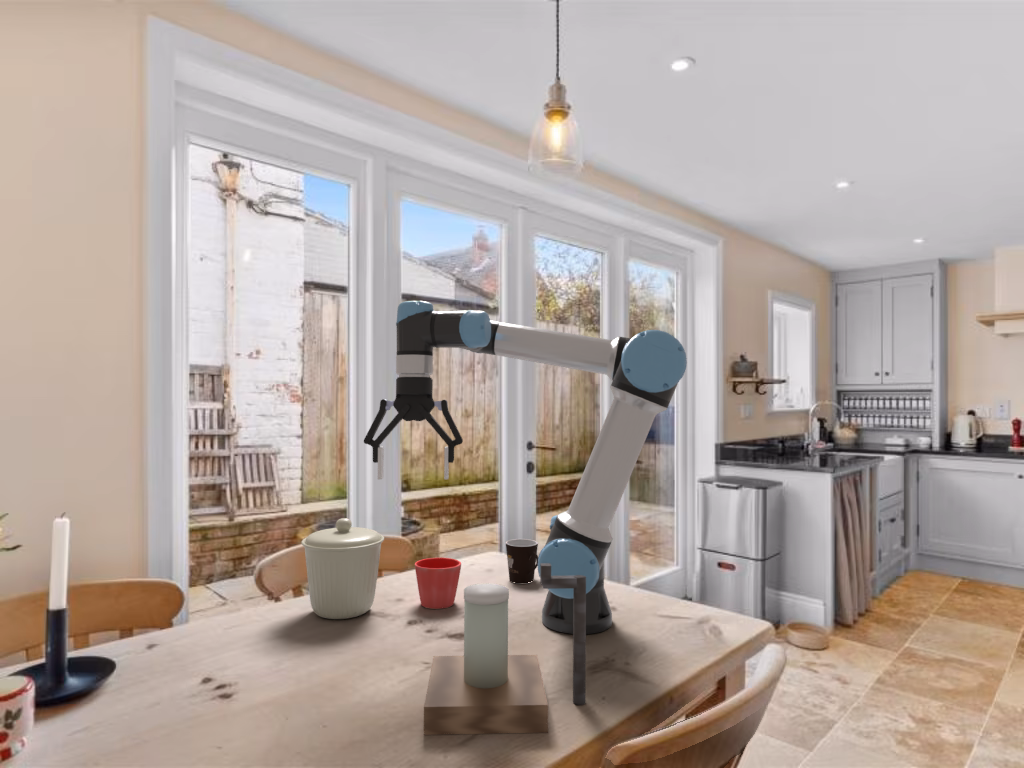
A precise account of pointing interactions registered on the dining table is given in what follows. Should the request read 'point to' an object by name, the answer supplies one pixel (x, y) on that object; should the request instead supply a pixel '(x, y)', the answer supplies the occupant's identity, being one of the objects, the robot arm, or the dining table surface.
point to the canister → (342, 569)
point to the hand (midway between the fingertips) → (413, 478)
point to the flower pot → (437, 581)
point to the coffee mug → (522, 559)
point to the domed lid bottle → (486, 635)
